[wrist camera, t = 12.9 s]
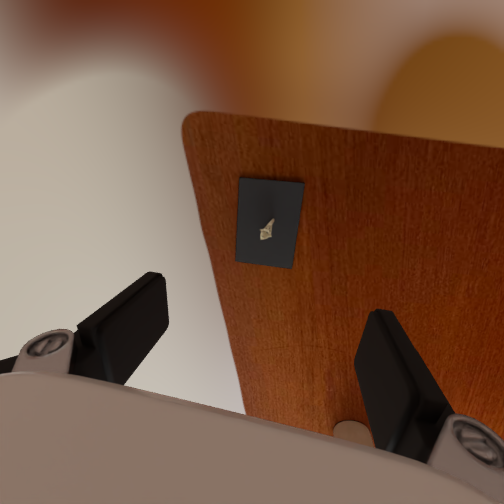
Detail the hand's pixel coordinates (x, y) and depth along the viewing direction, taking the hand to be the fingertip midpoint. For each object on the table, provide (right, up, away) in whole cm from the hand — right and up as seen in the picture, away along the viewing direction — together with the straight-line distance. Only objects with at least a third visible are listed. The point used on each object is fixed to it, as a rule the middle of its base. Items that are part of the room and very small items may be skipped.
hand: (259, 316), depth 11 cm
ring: (+2, +6, +16) cm, 17 cm away
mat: (+1, +6, +16) cm, 18 cm away
